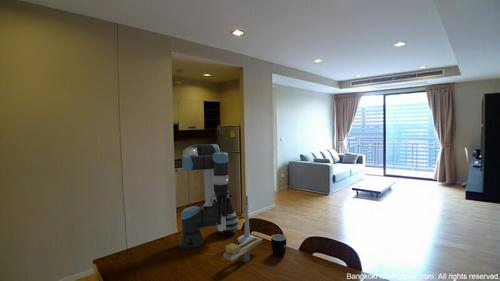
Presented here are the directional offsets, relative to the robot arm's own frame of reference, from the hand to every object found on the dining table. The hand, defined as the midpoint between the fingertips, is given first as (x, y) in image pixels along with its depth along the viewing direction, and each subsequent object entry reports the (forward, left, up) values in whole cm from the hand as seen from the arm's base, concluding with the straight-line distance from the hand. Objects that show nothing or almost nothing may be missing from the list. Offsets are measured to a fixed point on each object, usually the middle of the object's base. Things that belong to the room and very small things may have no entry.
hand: (221, 229), depth 130 cm
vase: (-34, +42, -23) cm, 58 cm away
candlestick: (-15, +40, -23) cm, 48 cm away
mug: (+12, +36, -23) cm, 44 cm away
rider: (0, +8, -16) cm, 18 cm away
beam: (0, +18, -22) cm, 28 cm away
